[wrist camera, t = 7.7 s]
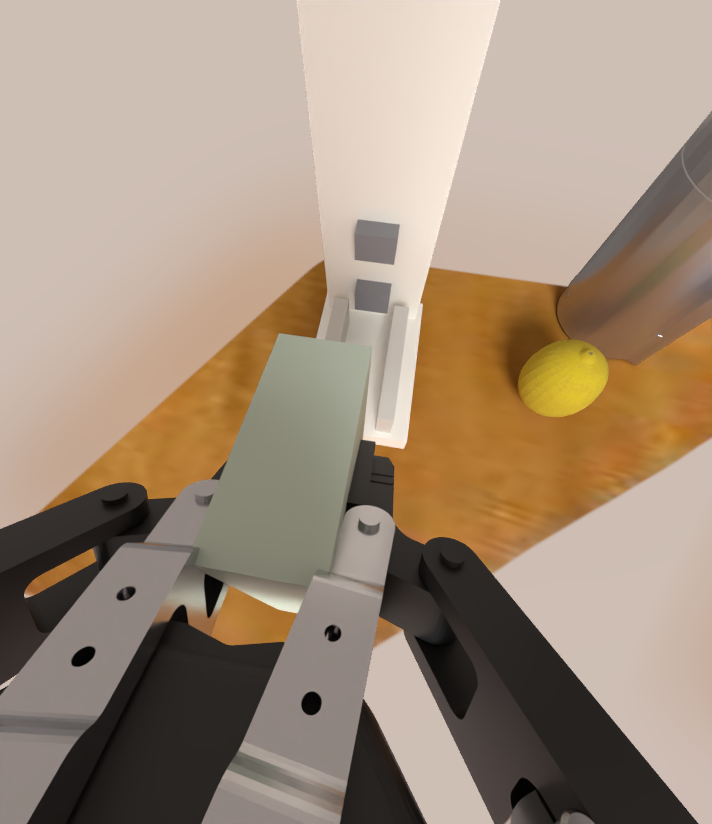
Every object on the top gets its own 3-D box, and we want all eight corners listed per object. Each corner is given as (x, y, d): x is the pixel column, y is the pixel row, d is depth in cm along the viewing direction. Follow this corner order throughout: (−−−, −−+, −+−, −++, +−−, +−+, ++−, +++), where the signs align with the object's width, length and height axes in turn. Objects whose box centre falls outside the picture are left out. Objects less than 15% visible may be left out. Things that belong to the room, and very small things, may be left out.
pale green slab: (335, 620, 15) (326, 589, 6) (278, 609, 15) (185, 563, 6) (359, 479, 19) (375, 328, 10) (313, 472, 19) (286, 316, 10)
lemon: (569, 382, 32) (635, 331, 24) (562, 437, 30) (631, 401, 22) (508, 365, 32) (554, 310, 25) (497, 418, 30) (544, 376, 23)
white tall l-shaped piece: (403, 448, 29) (560, 133, 7) (299, 432, 30) (131, 87, 7) (419, 317, 34) (541, -121, 12) (329, 304, 35) (281, -138, 12)
